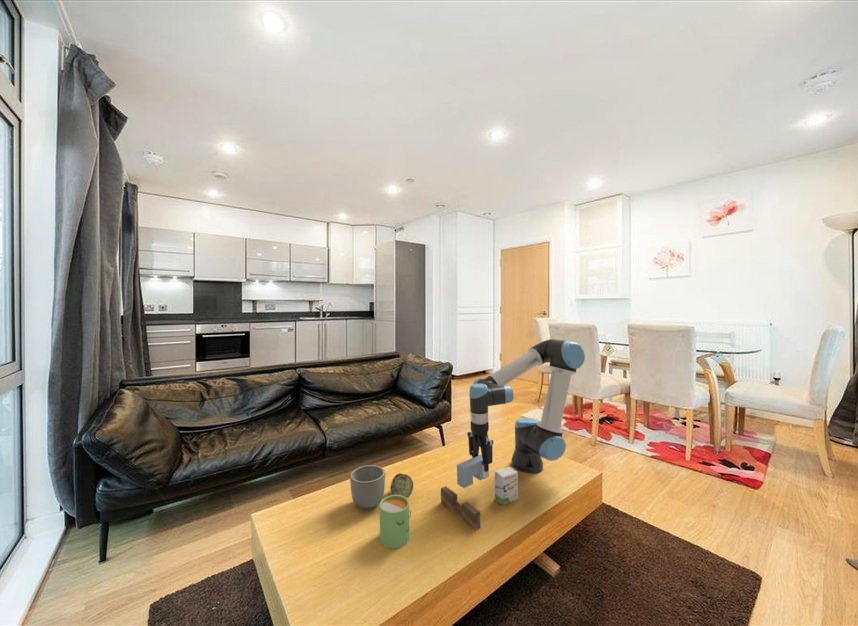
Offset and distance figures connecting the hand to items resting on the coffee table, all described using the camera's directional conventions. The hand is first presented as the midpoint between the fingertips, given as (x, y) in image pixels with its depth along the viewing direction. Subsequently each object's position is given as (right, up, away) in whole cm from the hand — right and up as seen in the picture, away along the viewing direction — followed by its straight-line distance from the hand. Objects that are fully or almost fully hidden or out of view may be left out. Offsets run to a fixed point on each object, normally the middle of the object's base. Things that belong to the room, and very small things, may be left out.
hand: (481, 475), depth 138 cm
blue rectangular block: (-4, -1, -3) cm, 5 cm away
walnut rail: (-10, -8, -13) cm, 19 cm away
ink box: (+10, -8, -4) cm, 13 cm away
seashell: (-33, -8, -1) cm, 34 cm away
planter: (-47, -9, -7) cm, 48 cm away
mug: (-33, -9, -24) cm, 42 cm away
